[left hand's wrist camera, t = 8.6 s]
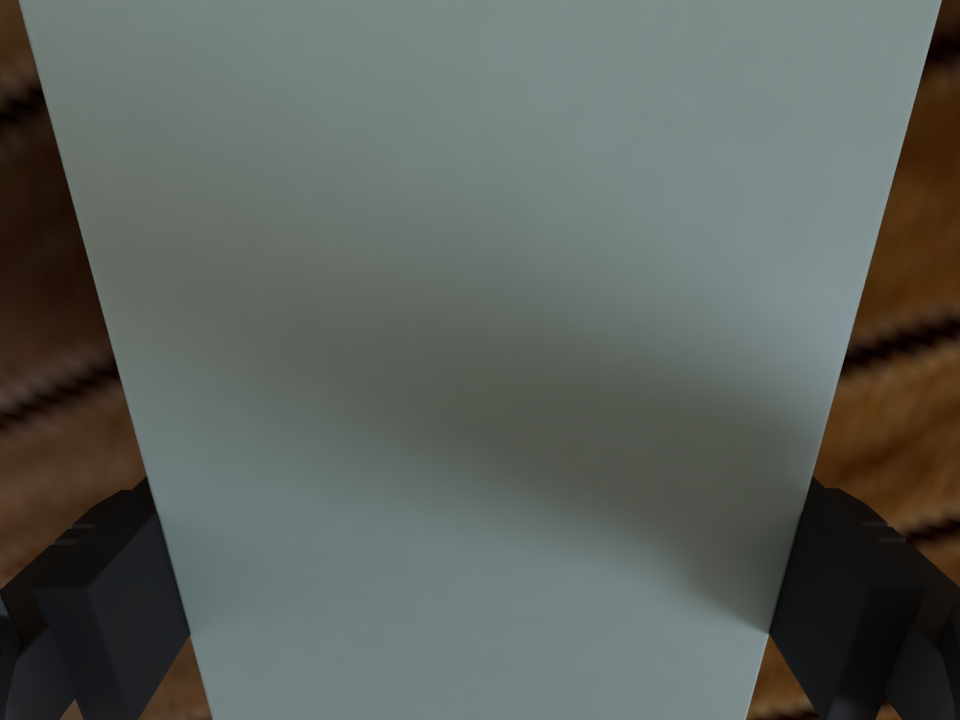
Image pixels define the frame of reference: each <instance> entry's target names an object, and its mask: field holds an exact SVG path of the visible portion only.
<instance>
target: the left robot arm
mask: <svg viewBox="0 0 960 720" xmlns="http://www.w3.org/2000/svg"><path fill="white" fill-rule="evenodd" d="M769 634H770V636H771V638H772V639H773V641H774V643H775V644H776V646H777V647H778V649H779V651H780V652H781V654H782V656H783V657H784V659H785V661H786V662H787V664H788V666H789V667H790V669H791V671H792V672H793V674H794V675H795V677H796V679H797V680H798V682H799V684H800V685H801V687H802V689H803V690H804V692H805V694H806V695H807V697H808V699H809V700H810V702H811V703H812V705H813V707H814V708H815V710H816V712H817V713H818V715H819V717H820V718H821V720H875V719H876V717H877V714H878V712H879V709H880V707H881V704H882V702H883V699H884V697H886V698H887V700H888V701H889V702H890V704H891V705H892V706H893V708H894V709H895V710H896V712H897V713H898V714H899V716H900V717H901V718H902V720H960V588H959V587H958V586H957V585H956V584H955V583H954V582H953V581H952V580H950V579H949V578H948V577H947V576H946V575H945V574H944V573H943V572H942V571H940V570H939V569H938V568H937V567H936V566H935V565H934V564H933V563H932V562H930V561H929V560H928V559H927V558H926V557H925V556H924V555H923V554H921V553H920V552H919V551H918V550H917V549H916V548H915V547H914V546H913V545H911V544H910V543H906V542H905V538H904V537H903V536H901V535H900V534H899V533H898V532H897V531H896V530H895V529H894V528H892V527H888V523H887V522H886V521H885V520H884V519H882V518H881V517H880V516H879V515H878V514H877V513H876V512H875V511H873V510H872V509H871V508H870V507H869V506H868V505H867V504H865V503H863V502H862V501H860V500H858V499H856V498H855V497H853V496H851V495H849V494H847V493H846V492H844V491H842V490H840V489H839V488H825V487H824V486H823V485H822V484H820V483H819V482H818V481H817V480H816V479H815V478H814V477H813V476H812V478H811V482H810V485H809V489H808V493H807V496H806V500H805V504H804V507H803V511H802V515H801V518H800V522H799V526H798V529H797V533H796V537H795V540H794V544H793V548H792V551H791V555H790V559H789V562H788V566H787V570H786V573H785V577H784V581H783V584H782V588H781V592H780V595H779V599H778V603H777V606H776V610H775V614H774V617H773V621H772V625H771V628H770V632H769ZM189 635H190V633H189V630H188V626H187V622H186V618H185V615H184V611H183V607H182V604H181V600H180V596H179V593H178V589H177V585H176V581H175V578H174V574H173V570H172V567H171V563H170V559H169V556H168V552H167V548H166V544H165V541H164V537H163V533H162V530H161V526H160V522H159V519H158V515H157V511H156V507H155V504H154V500H153V496H152V493H151V489H150V485H149V482H148V478H147V476H146V477H145V478H144V479H143V480H142V481H141V482H140V483H139V484H138V485H137V486H136V487H135V488H134V489H133V490H121V491H119V492H117V493H116V494H114V495H112V496H110V497H109V498H107V499H105V500H103V501H102V502H100V503H98V504H96V505H95V506H93V507H92V508H91V509H90V510H88V511H87V512H86V513H85V514H84V515H83V516H82V517H81V518H80V519H78V520H77V521H76V522H75V523H74V524H73V525H72V529H67V530H66V531H65V532H64V533H63V534H62V535H61V536H60V537H59V538H57V539H56V540H55V543H54V545H50V546H49V547H47V548H46V549H45V550H44V551H43V552H42V553H41V554H40V555H39V556H37V557H36V558H35V559H34V560H33V561H32V562H31V563H30V564H29V565H27V566H26V567H25V568H24V569H23V570H22V571H21V572H20V573H19V574H18V575H16V576H15V577H14V578H13V579H12V580H11V581H10V582H9V583H8V584H6V585H5V586H4V587H3V588H2V589H0V720H59V719H60V718H61V716H62V715H63V714H64V712H65V711H66V710H67V708H68V707H69V706H70V704H71V703H72V702H73V700H74V699H76V701H77V704H78V706H79V709H80V711H81V714H82V716H83V719H84V720H138V719H139V717H140V716H141V714H142V712H143V711H144V709H145V707H146V706H147V704H148V702H149V701H150V699H151V698H152V696H153V694H154V693H155V691H156V689H157V688H158V686H159V684H160V683H161V681H162V679H163V678H164V676H165V674H166V673H167V671H168V670H169V668H170V666H171V665H172V663H173V661H174V660H175V658H176V656H177V655H178V653H179V651H180V650H181V648H182V646H183V645H184V643H185V642H186V640H187V638H188V637H189Z"/></svg>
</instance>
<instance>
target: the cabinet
mask: <svg viewBox="0 0 960 720" xmlns="http://www.w3.org/2000/svg"><path fill="white" fill-rule="evenodd" d="M941 1H942V0H19V4H20V8H21V11H22V15H23V19H24V23H25V26H26V30H27V34H28V37H29V41H30V45H31V48H32V52H33V56H34V60H35V63H36V67H37V71H38V74H39V78H40V82H41V85H42V89H43V93H44V97H45V100H46V104H47V108H48V111H49V115H50V119H51V122H52V126H53V130H54V134H55V137H56V141H57V145H58V148H59V152H60V156H61V159H62V163H63V167H64V171H65V174H66V178H67V182H68V185H69V189H70V193H71V197H72V200H73V204H74V208H75V211H76V215H77V219H78V222H79V226H80V230H81V234H82V237H83V241H84V245H85V248H86V252H87V256H88V259H89V263H90V267H91V271H92V274H93V278H94V282H95V285H96V289H97V293H98V296H99V300H100V304H101V308H102V311H103V315H104V319H105V322H106V326H107V330H108V333H109V337H110V341H111V345H112V348H113V352H114V356H115V359H116V363H117V367H118V370H119V374H120V378H121V382H122V385H123V389H124V393H125V396H126V400H127V404H128V407H129V411H130V415H131V419H132V422H133V426H134V430H135V433H136V437H137V441H138V444H139V448H140V452H141V456H142V459H143V463H144V467H145V470H146V474H147V478H148V482H149V485H150V489H151V493H152V496H153V500H154V504H155V507H156V511H157V515H158V519H159V522H160V526H161V530H162V533H163V537H164V541H165V544H166V548H167V552H168V556H169V559H170V563H171V567H172V570H173V574H174V578H175V581H176V585H177V589H178V593H179V596H180V600H181V604H182V607H183V611H184V615H185V618H186V622H187V626H188V630H189V633H190V637H191V641H192V644H193V648H194V652H195V655H196V659H197V663H198V667H199V670H200V674H201V678H202V681H203V685H204V689H205V692H206V696H207V700H208V704H209V707H210V711H211V715H212V718H213V720H746V717H747V713H748V709H749V706H750V702H751V698H752V695H753V691H754V687H755V683H756V680H757V676H758V672H759V669H760V665H761V661H762V658H763V654H764V650H765V647H766V643H767V639H768V636H769V632H770V628H771V625H772V621H773V617H774V614H775V610H776V606H777V603H778V599H779V595H780V592H781V588H782V584H783V581H784V577H785V573H786V570H787V566H788V562H789V559H790V555H791V551H792V548H793V544H794V540H795V537H796V533H797V529H798V526H799V522H800V518H801V515H802V511H803V507H804V504H805V500H806V496H807V493H808V489H809V485H810V482H811V478H812V474H813V471H814V467H815V463H816V460H817V456H818V452H819V449H820V445H821V441H822V438H823V434H824V430H825V427H826V423H827V419H828V416H829V412H830V408H831V405H832V401H833V397H834V394H835V390H836V386H837V383H838V379H839V375H840V372H841V368H842V364H843V361H844V357H845V353H846V350H847V346H848V342H849V339H850V335H851V331H852V328H853V324H854V320H855V317H856V313H857V309H858V306H859V302H860V298H861V295H862V291H863V287H864V284H865V280H866V276H867V273H868V269H869V265H870V262H871V258H872V254H873V251H874V247H875V243H876V240H877V236H878V232H879V228H880V225H881V221H882V217H883V214H884V210H885V206H886V203H887V199H888V195H889V192H890V188H891V184H892V181H893V177H894V173H895V170H896V166H897V162H898V159H899V155H900V151H901V148H902V144H903V140H904V137H905V133H906V129H907V126H908V122H909V118H910V115H911V111H912V107H913V104H914V100H915V96H916V93H917V89H918V85H919V82H920V78H921V74H922V71H923V67H924V63H925V60H926V56H927V52H928V49H929V45H930V41H931V38H932V34H933V30H934V27H935V23H936V19H937V16H938V12H939V8H940V5H941Z"/></svg>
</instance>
